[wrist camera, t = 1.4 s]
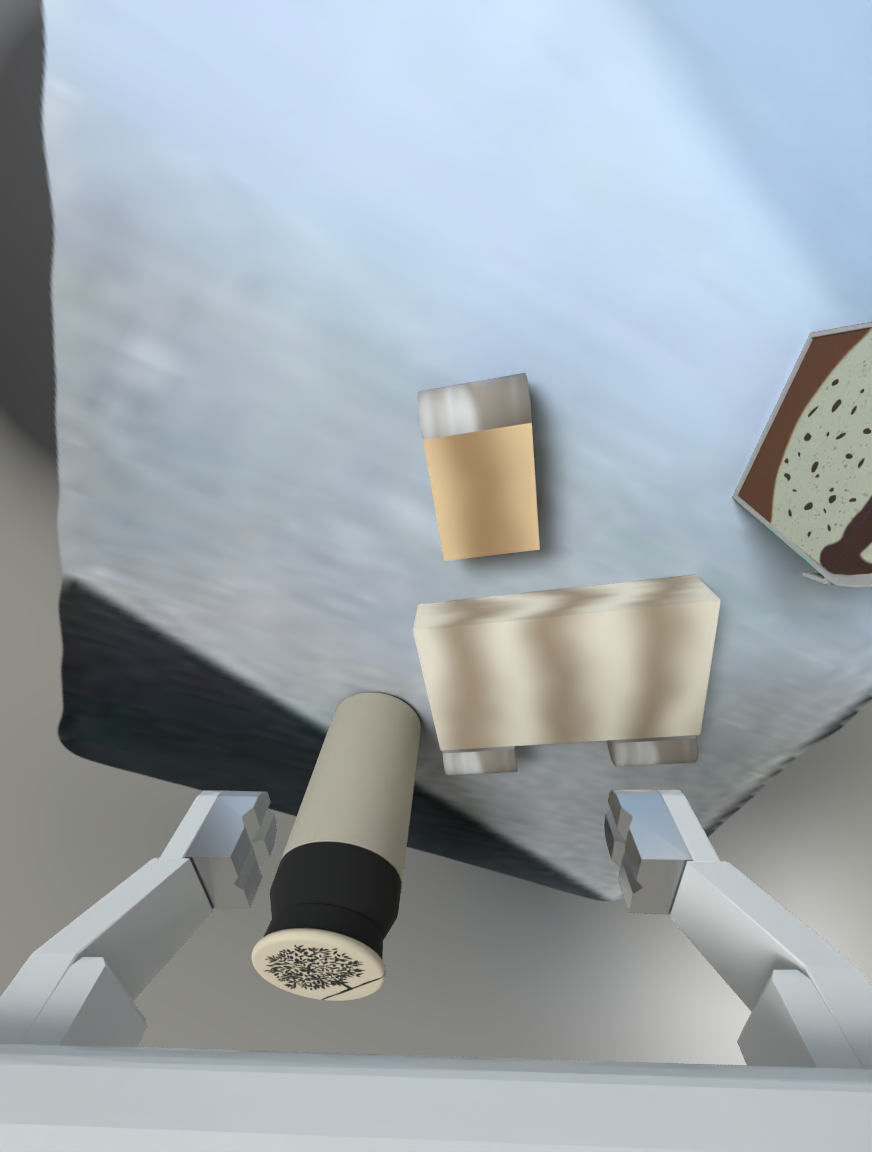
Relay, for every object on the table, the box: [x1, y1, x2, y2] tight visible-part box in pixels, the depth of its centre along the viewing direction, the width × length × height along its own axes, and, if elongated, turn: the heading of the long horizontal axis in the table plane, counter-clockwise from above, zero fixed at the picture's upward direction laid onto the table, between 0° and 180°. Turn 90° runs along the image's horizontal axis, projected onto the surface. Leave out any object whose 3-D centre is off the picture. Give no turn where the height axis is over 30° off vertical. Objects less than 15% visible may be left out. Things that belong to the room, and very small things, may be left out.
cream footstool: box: [413, 575, 721, 775], centre depth 34 cm, size 20×16×4 cm
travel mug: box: [252, 693, 421, 1000], centre depth 32 cm, size 8×8×18 cm
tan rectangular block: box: [418, 373, 540, 561], centre depth 27 cm, size 6×10×4 cm, turn 9°
